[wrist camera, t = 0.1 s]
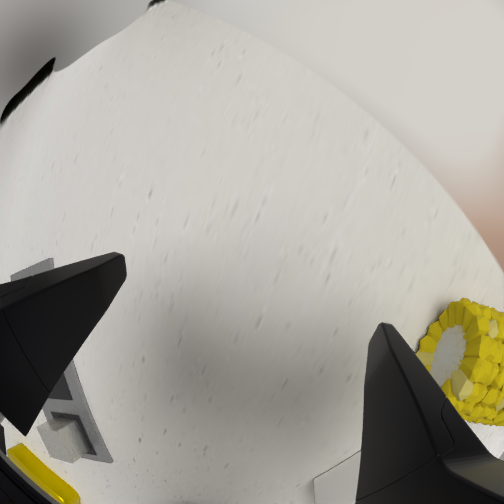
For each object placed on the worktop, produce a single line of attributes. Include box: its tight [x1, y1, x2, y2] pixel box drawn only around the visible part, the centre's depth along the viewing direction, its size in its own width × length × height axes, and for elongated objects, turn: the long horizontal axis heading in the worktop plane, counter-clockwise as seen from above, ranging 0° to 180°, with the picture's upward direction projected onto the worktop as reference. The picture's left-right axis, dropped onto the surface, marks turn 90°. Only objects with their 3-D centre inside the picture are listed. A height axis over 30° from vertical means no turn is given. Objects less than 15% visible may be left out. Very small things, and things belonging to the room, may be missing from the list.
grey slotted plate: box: [11, 258, 113, 463], centre depth 26 cm, size 26×10×1 cm, turn 14°
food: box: [416, 298, 504, 426], centre depth 15 cm, size 15×12×10 cm
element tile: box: [7, 443, 80, 504], centre depth 23 cm, size 15×15×5 cm
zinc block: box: [37, 417, 90, 463], centre depth 23 cm, size 4×4×4 cm
